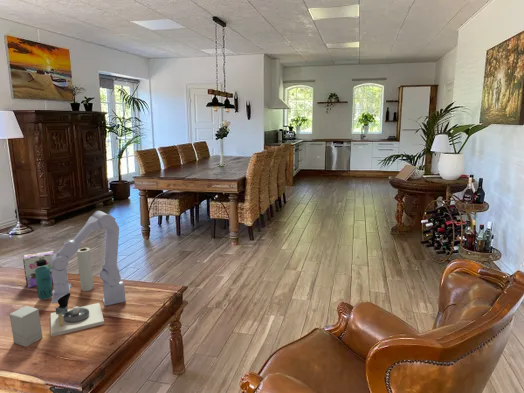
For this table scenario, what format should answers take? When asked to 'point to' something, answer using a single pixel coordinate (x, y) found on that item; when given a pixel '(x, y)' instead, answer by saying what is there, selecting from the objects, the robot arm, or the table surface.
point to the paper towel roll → (85, 269)
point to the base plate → (65, 327)
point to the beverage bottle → (43, 280)
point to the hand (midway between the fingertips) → (64, 310)
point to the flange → (70, 316)
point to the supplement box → (26, 326)
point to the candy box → (35, 266)
